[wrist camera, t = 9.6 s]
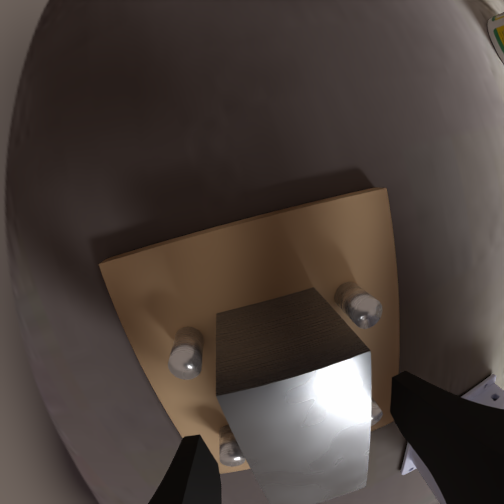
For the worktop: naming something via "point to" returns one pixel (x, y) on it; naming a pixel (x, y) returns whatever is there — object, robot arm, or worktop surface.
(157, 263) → the pin tray
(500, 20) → the supplement bottle
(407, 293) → the worktop surface
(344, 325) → the plate
